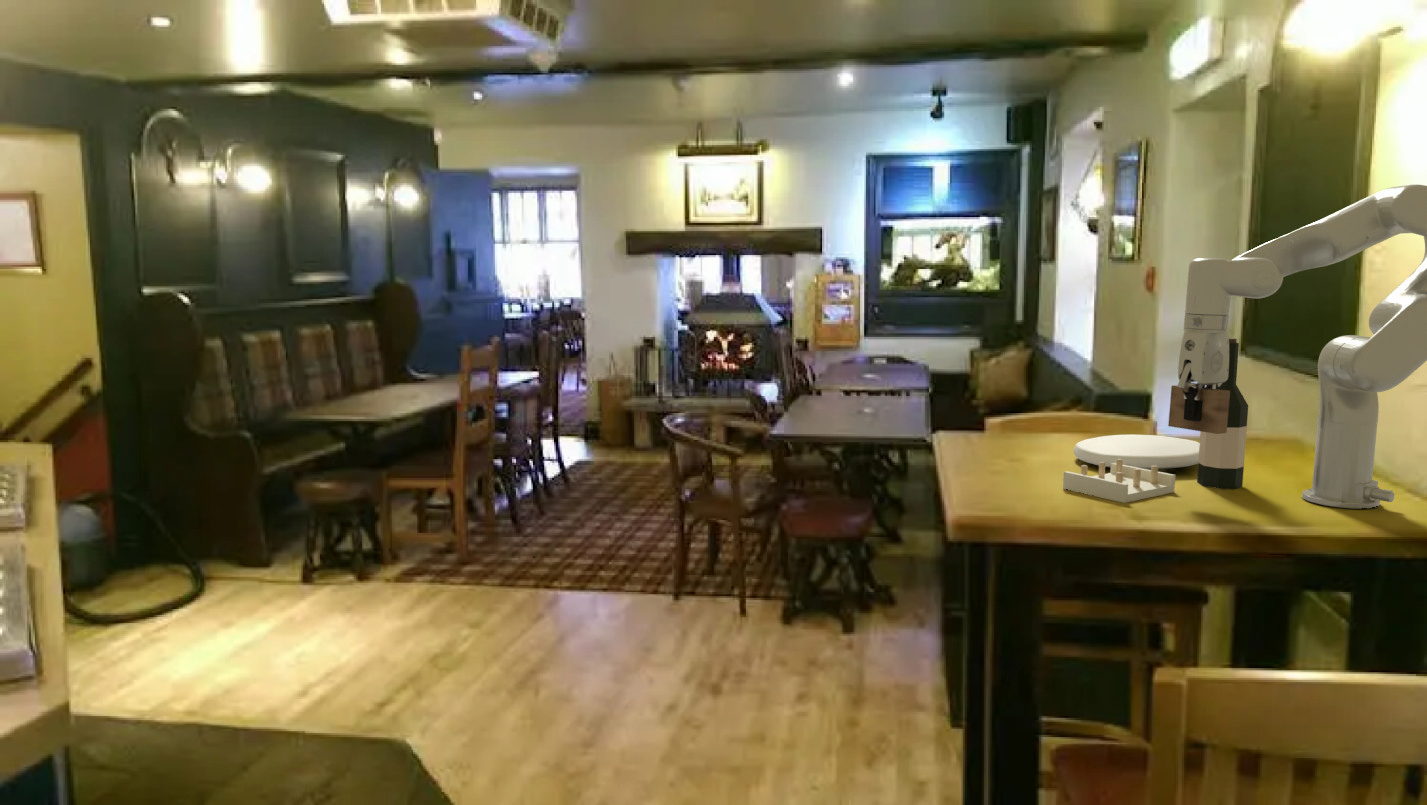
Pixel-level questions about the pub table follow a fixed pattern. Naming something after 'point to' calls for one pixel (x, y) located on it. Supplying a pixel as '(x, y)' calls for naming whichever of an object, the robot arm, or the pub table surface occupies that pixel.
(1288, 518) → the pub table surface
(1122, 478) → the rack
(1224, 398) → the walnut board
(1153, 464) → the plate
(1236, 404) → the wine bottle
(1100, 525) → the pub table surface
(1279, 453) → the pub table surface
